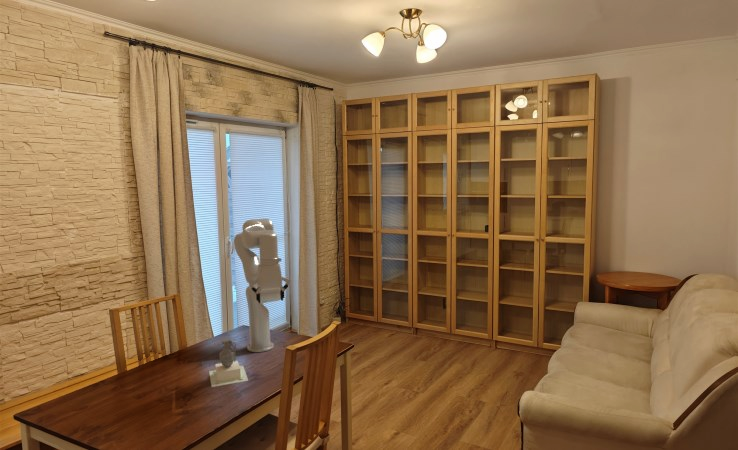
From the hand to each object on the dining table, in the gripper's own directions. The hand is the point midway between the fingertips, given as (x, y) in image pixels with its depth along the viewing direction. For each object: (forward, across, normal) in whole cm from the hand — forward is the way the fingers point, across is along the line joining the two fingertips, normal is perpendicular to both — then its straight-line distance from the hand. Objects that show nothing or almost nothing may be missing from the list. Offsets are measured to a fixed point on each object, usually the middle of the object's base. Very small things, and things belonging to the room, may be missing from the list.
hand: (270, 301), depth 204 cm
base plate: (+29, +19, +6) cm, 36 cm away
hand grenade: (+24, +19, +6) cm, 31 cm away
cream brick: (+28, +19, +6) cm, 34 cm away
